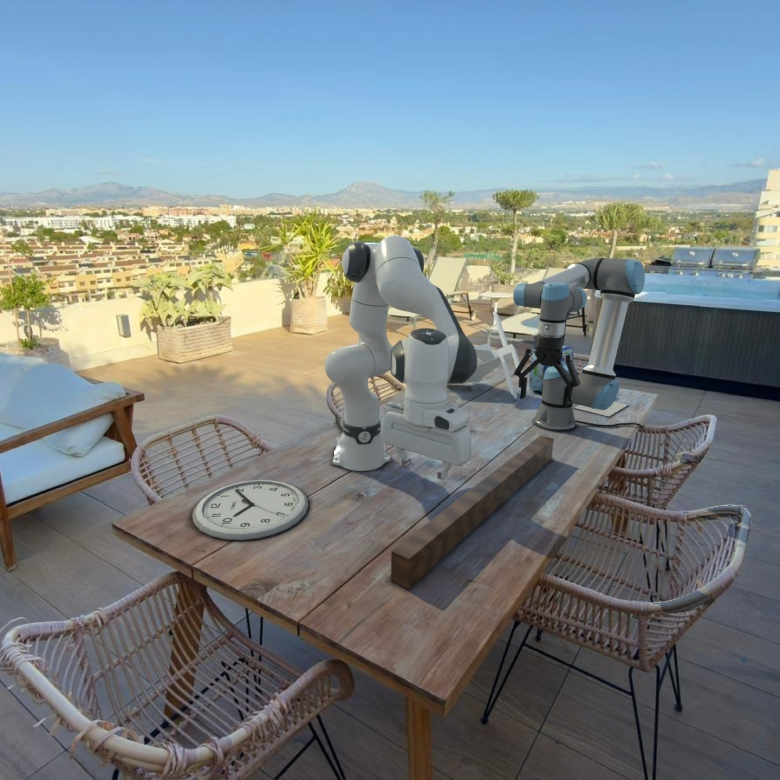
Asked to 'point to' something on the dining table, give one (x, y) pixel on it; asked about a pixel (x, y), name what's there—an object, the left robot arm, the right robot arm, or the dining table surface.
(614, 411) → the invitation card
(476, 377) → the white plastic object
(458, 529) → the beam
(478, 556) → the dining table surface
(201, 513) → the wall clock
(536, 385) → the lunch box
